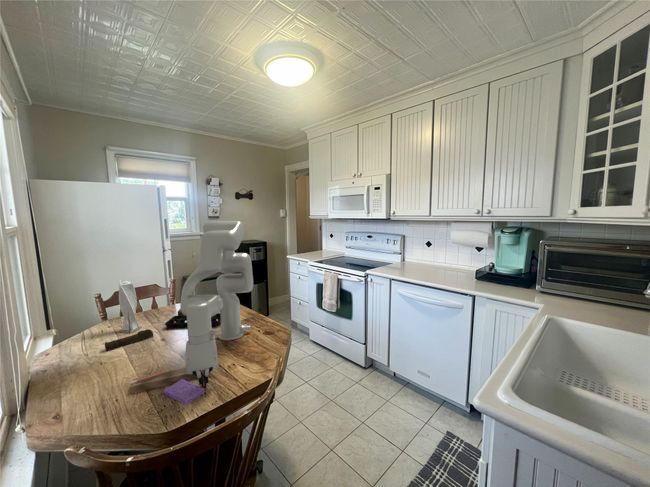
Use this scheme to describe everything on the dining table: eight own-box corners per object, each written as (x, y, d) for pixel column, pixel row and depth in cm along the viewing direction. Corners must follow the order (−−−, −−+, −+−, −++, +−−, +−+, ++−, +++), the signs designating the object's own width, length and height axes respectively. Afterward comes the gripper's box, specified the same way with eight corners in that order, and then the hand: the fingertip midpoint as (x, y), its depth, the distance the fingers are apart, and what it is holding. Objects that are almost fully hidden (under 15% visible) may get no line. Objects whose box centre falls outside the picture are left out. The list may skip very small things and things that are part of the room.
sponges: (186, 406, 87) (186, 400, 86) (163, 394, 93) (162, 389, 92) (205, 393, 93) (204, 388, 93) (182, 382, 99) (181, 378, 98)
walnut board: (206, 368, 107) (205, 362, 106) (206, 375, 102) (205, 369, 102) (133, 385, 97) (133, 378, 97) (130, 393, 92) (129, 387, 92)
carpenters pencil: (165, 372, 100) (165, 370, 100) (166, 373, 99) (166, 372, 99) (131, 383, 94) (131, 381, 94) (131, 384, 93) (131, 382, 93)
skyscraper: (116, 332, 141) (111, 280, 137) (129, 326, 149) (124, 277, 145) (131, 333, 140) (125, 281, 136) (143, 326, 148) (138, 277, 144)
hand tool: (106, 352, 121) (104, 343, 120) (105, 349, 124) (104, 340, 123) (154, 338, 134) (153, 329, 133) (152, 336, 137) (151, 327, 136)
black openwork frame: (170, 322, 155) (169, 315, 154) (225, 315, 164) (224, 309, 163) (161, 335, 138) (161, 328, 138) (223, 326, 147) (223, 320, 147)
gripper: (222, 328, 100) (225, 374, 102) (176, 336, 93) (181, 385, 96) (224, 336, 93) (227, 385, 95) (175, 346, 87) (179, 398, 89)
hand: (203, 385), depth 95 cm, fingers closed
